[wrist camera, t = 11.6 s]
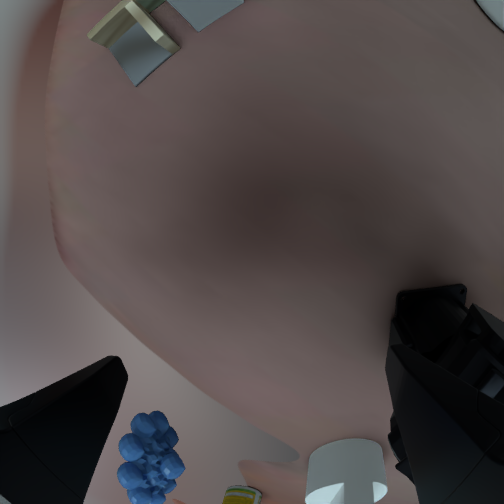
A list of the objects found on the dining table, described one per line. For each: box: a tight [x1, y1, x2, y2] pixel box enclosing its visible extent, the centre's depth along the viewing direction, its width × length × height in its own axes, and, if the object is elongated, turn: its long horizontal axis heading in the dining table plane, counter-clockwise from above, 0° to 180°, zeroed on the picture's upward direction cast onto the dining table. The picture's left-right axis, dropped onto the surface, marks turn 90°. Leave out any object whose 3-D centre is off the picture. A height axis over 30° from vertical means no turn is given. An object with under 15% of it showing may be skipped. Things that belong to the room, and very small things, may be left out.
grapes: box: [117, 411, 185, 504], centre depth 23 cm, size 12×7×12 cm, turn 11°
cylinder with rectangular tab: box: [305, 438, 387, 504], centre depth 20 cm, size 9×9×12 cm
